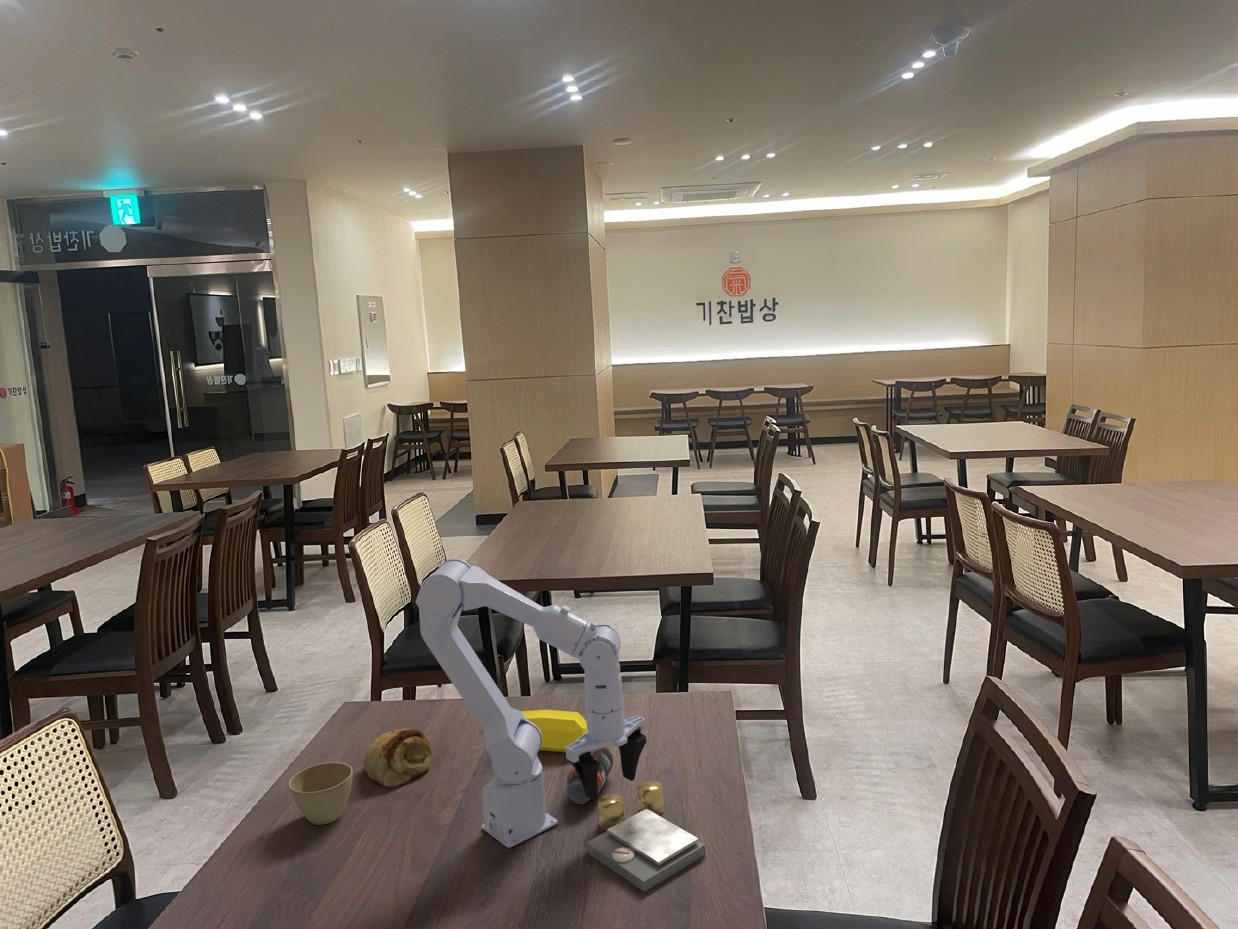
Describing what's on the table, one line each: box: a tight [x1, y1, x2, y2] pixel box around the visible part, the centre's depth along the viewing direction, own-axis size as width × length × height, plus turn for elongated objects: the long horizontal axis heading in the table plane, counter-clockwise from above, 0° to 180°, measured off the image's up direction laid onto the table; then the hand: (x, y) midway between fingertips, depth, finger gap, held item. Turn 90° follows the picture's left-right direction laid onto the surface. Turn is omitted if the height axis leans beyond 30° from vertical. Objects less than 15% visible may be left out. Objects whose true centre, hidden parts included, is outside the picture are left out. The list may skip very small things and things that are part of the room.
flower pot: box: [288, 761, 354, 826], centre depth 144 cm, size 10×10×7 cm
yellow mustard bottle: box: [520, 709, 588, 753], centre depth 164 cm, size 18×7×8 cm
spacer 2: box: [637, 780, 665, 816], centre depth 140 cm, size 4×4×4 cm
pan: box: [606, 809, 700, 866], centre depth 130 cm, size 8×11×1 cm
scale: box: [585, 831, 706, 893], centre depth 129 cm, size 12×13×2 cm
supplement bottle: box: [566, 747, 614, 805], centre depth 147 cm, size 6×6×11 cm
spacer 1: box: [597, 793, 626, 832], centre depth 137 cm, size 4×4×4 cm
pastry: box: [363, 728, 434, 788], centre depth 159 cm, size 14×12×8 cm
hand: (610, 787), depth 136 cm, fingers open, 7 cm apart
